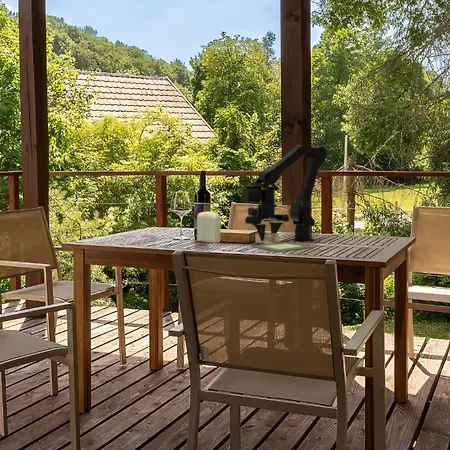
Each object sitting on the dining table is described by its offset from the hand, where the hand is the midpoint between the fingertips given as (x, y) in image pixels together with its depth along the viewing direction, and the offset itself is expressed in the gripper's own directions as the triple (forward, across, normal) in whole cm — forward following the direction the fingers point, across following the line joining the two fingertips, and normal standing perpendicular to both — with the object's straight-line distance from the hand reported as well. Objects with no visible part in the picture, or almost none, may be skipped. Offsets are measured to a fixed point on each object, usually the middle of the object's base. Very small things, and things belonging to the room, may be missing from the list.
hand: (267, 240), depth 282 cm
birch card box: (+1, 0, 0) cm, 1 cm away
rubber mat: (+1, +4, +14) cm, 15 cm away
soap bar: (+1, +17, -17) cm, 24 cm away
